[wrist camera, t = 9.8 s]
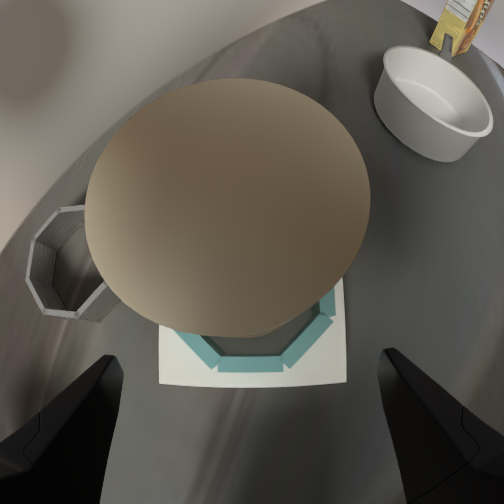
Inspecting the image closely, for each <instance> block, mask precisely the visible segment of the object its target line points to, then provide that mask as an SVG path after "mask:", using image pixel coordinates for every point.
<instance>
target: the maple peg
mask: <svg viewBox="0 0 504 504" xmlns="http://www.w3.org/2000/svg"><path fill="white" fill-rule="evenodd" d="M370 203H371V199H370V184H369V179H368V174H367V169H366V166H365V163H364V161H363V158H362V155H361V153H360V151H359V149H358V147H357V145H356V143H355V142H354V140H353V138H352V137H351V135H350V134H349V133H348V131H347V130H346V128H345V127H344V126H343V125H342V124H341V123H340V122H339V121H338V119H337V118H336V117H335V116H334V115H333V114H331V113H330V112H329V111H328V110H327V109H325V108H324V107H323V106H322V105H320V104H319V103H317V102H316V101H314V100H313V99H311V98H309V97H308V96H306V95H304V94H302V93H300V92H298V91H295V90H293V89H290V88H288V87H285V86H282V85H279V84H275V83H271V82H267V81H262V80H254V79H241V78H230V79H216V80H210V81H204V82H200V83H196V84H192V85H189V86H185V87H183V88H180V89H177V90H175V91H172V92H170V93H168V94H166V95H164V96H162V97H160V98H158V99H156V100H155V101H153V102H152V103H150V104H148V105H147V106H145V107H144V108H143V109H141V110H140V111H139V112H137V113H136V114H135V115H133V116H132V117H131V118H130V119H129V120H128V121H127V122H126V123H125V124H124V125H123V126H122V127H121V128H120V129H119V130H118V131H117V133H116V134H115V135H114V136H113V137H112V139H111V140H110V141H109V143H108V144H107V146H106V147H105V149H104V150H103V152H102V154H101V156H100V158H99V159H98V161H97V163H96V165H95V168H94V170H93V173H92V176H91V179H90V182H89V186H88V190H87V194H86V201H85V211H84V213H85V231H86V237H87V242H88V246H89V249H90V252H91V255H92V258H93V261H94V263H95V265H96V267H97V269H98V271H99V272H100V274H101V276H102V278H103V279H104V280H105V282H106V283H107V284H108V286H109V287H110V289H111V290H112V291H113V292H114V293H115V294H116V295H117V296H118V297H119V298H120V299H121V300H122V301H123V302H124V303H125V304H126V305H128V306H129V307H130V308H132V309H133V310H134V311H136V312H137V313H139V314H140V315H141V316H143V317H145V318H147V319H149V320H151V321H153V322H155V323H157V324H159V325H161V326H164V327H168V328H171V329H174V330H177V331H180V332H185V333H191V334H197V335H203V336H218V337H238V338H257V337H262V336H265V335H268V334H270V333H272V332H273V331H275V330H277V329H278V328H280V327H281V326H283V325H284V324H286V323H287V322H289V321H290V320H292V319H293V318H295V317H296V316H298V315H299V314H301V313H302V312H304V311H305V310H307V309H308V308H310V307H311V306H313V305H314V304H315V303H316V302H318V301H319V300H320V299H321V298H322V297H323V296H325V295H326V294H327V293H328V292H329V291H330V290H331V289H332V288H333V287H334V286H335V285H336V284H337V283H338V281H339V280H340V279H341V278H342V277H343V276H344V274H345V273H346V272H347V270H348V269H349V267H350V265H351V264H352V262H353V261H354V259H355V257H356V256H357V253H358V251H359V249H360V247H361V244H362V242H363V240H364V237H365V233H366V229H367V225H368V221H369V214H370Z"/></svg>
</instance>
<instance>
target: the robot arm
mask: <svg viewBox="0 0 504 504" xmlns="http://www.w3.org/2000/svg"><path fill="white" fill-rule="evenodd" d="M377 375H378V381H379V386H380V392H381V397H382V403H383V408H384V412H385V416H386V419H387V423H388V427H389V430H390V434H391V438H392V441H393V445H394V449H395V453H396V457H397V461H398V465H399V469H400V474H401V478H402V482H403V487H404V492H405V496H406V501H407V504H504V436H503V435H502V434H500V433H499V432H497V431H496V430H494V429H493V428H491V427H490V426H489V425H487V424H486V423H484V422H483V421H482V420H480V419H479V418H478V417H477V416H475V415H474V414H473V413H472V412H470V411H469V410H468V409H467V408H466V407H465V406H462V404H461V403H460V402H459V401H457V400H456V399H455V398H454V397H453V396H452V395H450V394H449V393H448V392H447V391H446V390H444V389H443V388H442V387H441V386H440V385H439V384H437V383H436V382H435V381H434V380H433V379H431V378H430V377H429V376H428V375H427V374H425V373H424V372H423V371H422V370H421V369H420V368H418V367H417V366H416V365H415V364H414V363H412V362H411V361H410V360H409V359H408V358H406V357H405V356H404V355H403V354H402V353H400V352H399V351H398V350H397V349H395V348H387V349H383V350H382V352H381V355H380V358H379V360H378V363H377ZM123 378H124V373H123V369H122V367H121V365H120V363H119V361H118V359H117V357H116V356H114V355H104V356H102V357H101V358H100V359H99V360H98V361H96V362H95V363H94V364H93V365H92V366H91V367H89V368H88V369H87V370H86V371H85V372H84V373H83V374H81V375H80V376H79V377H78V378H77V379H76V380H75V381H73V382H72V383H71V384H70V385H69V386H68V387H67V388H65V389H64V390H63V391H62V392H61V393H60V394H59V395H57V396H56V397H55V398H54V399H53V400H52V401H51V402H49V403H48V404H47V405H46V406H45V407H44V408H43V409H42V410H40V412H38V413H37V414H36V415H35V416H34V417H32V418H31V419H30V420H29V421H28V422H27V423H25V424H24V425H23V426H22V427H20V428H19V429H18V430H16V431H15V432H14V433H12V434H11V435H10V436H8V437H7V438H5V439H4V440H3V441H1V442H0V504H100V498H101V492H102V486H103V481H104V476H105V470H106V465H107V460H108V456H109V451H110V446H111V442H112V438H113V433H114V429H115V425H116V421H117V416H118V412H119V405H120V398H121V391H122V384H123Z"/></svg>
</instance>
